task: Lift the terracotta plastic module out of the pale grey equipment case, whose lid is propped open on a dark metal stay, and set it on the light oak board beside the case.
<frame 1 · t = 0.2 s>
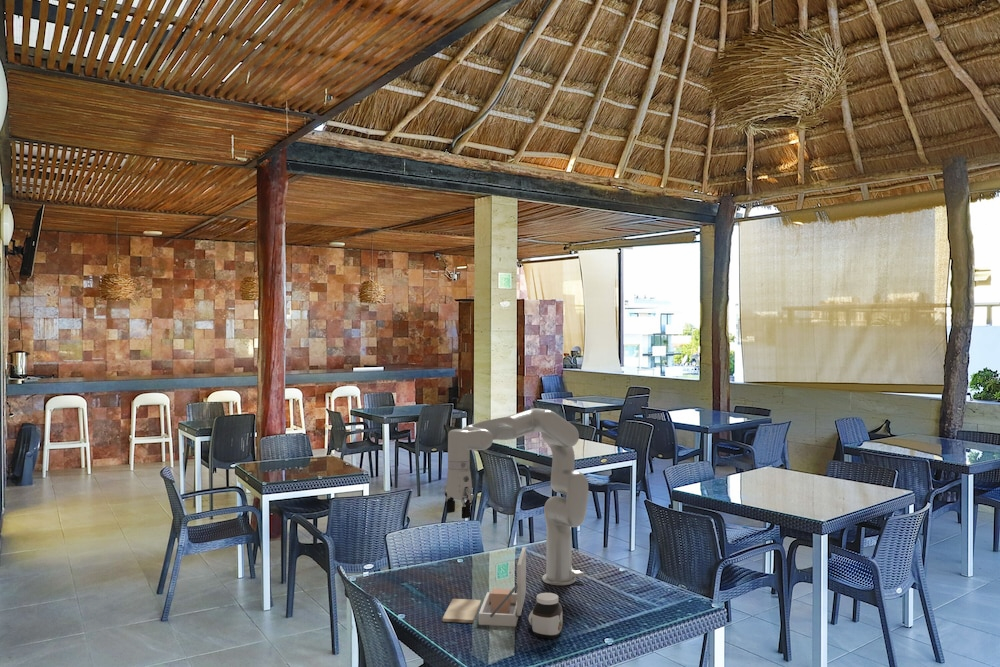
hand: (458, 515, 244), 31 cm above the table, tool pointing down, fingers open, 9 cm apart
equipment case: (500, 613, 235), on the table
module: (500, 612, 235), resting on equipment case
spread jar: (543, 632, 220), on the table
oak board: (462, 611, 236), on the table
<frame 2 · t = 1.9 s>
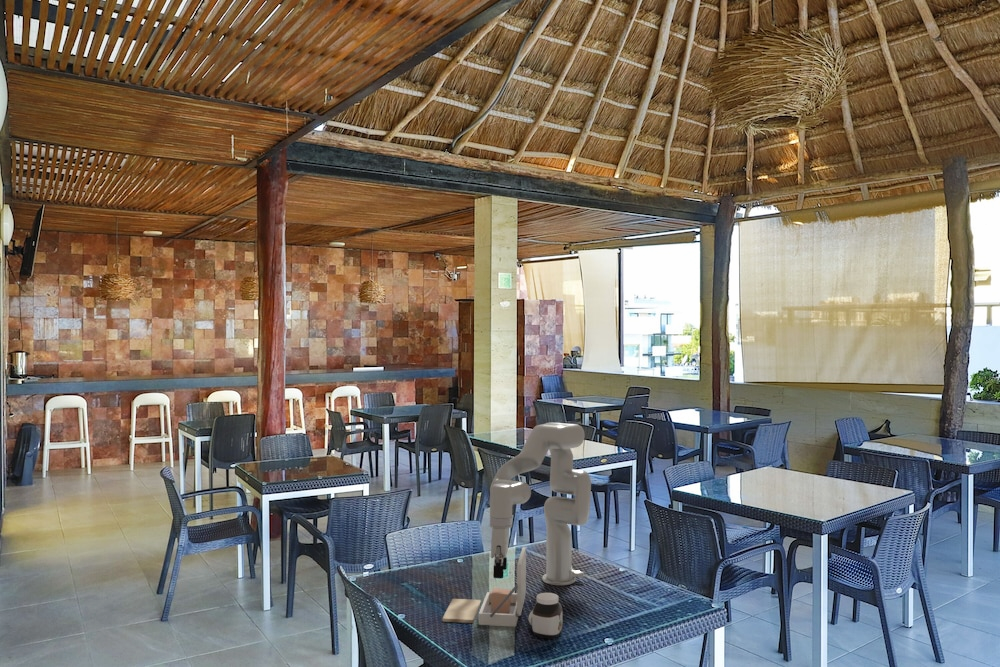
hand: (500, 573, 235), 13 cm above the table, tool pointing down, fingers open, 9 cm apart
nothing on the table moved.
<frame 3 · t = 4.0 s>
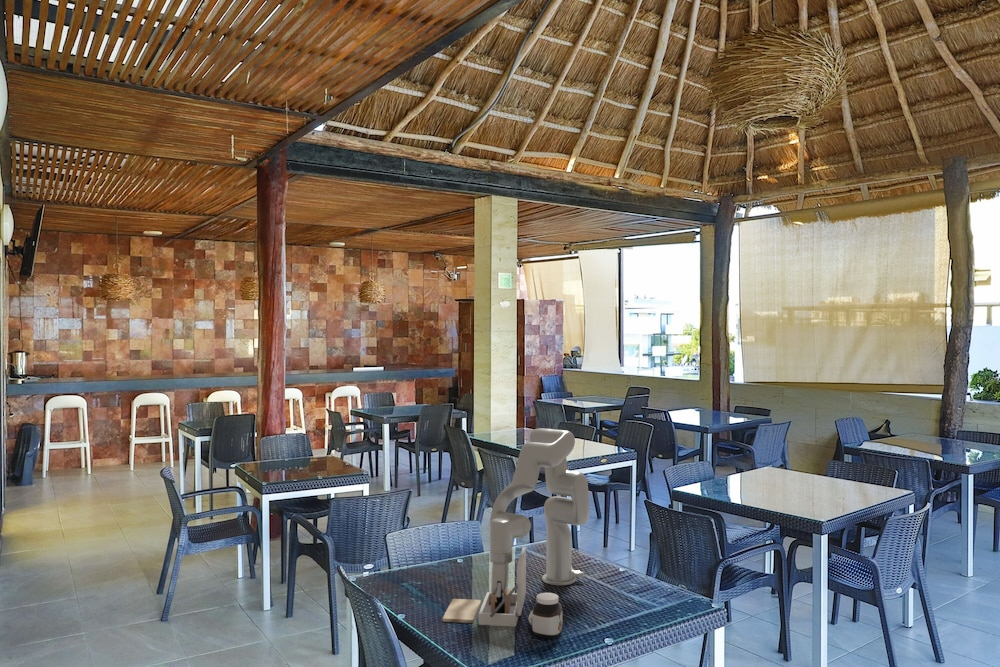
hand: (500, 610, 235), 1 cm above the table, tool pointing down, fingers closed on module, 5 cm apart
module: (500, 612, 235), resting on equipment case, touching gripper
everything else where it was.
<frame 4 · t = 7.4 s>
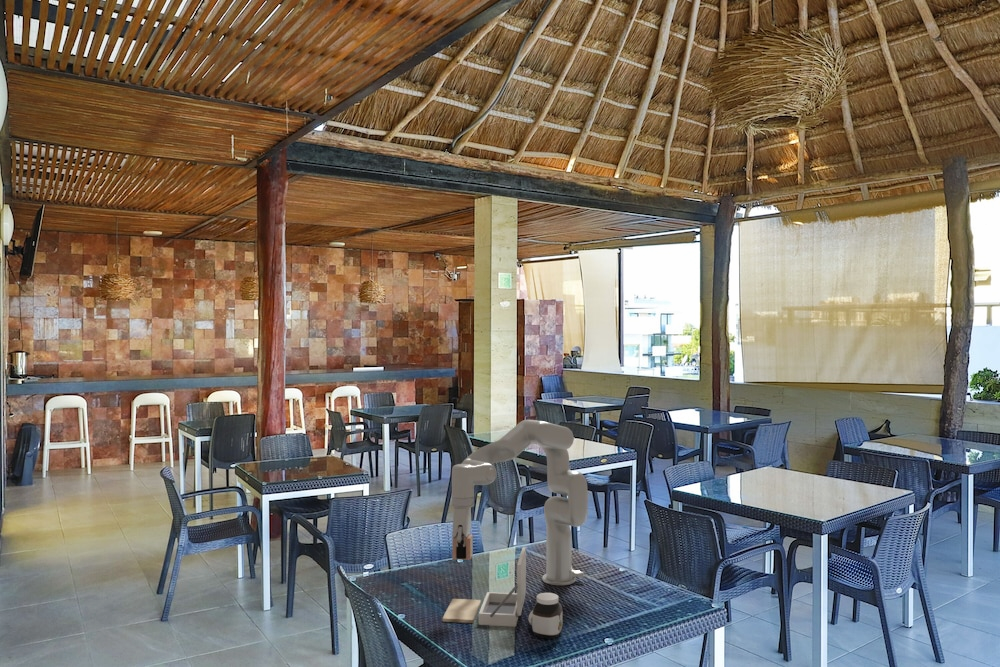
hand: (462, 555, 237), 19 cm above the table, tool pointing down, fingers closed on module, 5 cm apart
module: (462, 557, 237), point 18 cm above the table, touching gripper
everything else where it was.
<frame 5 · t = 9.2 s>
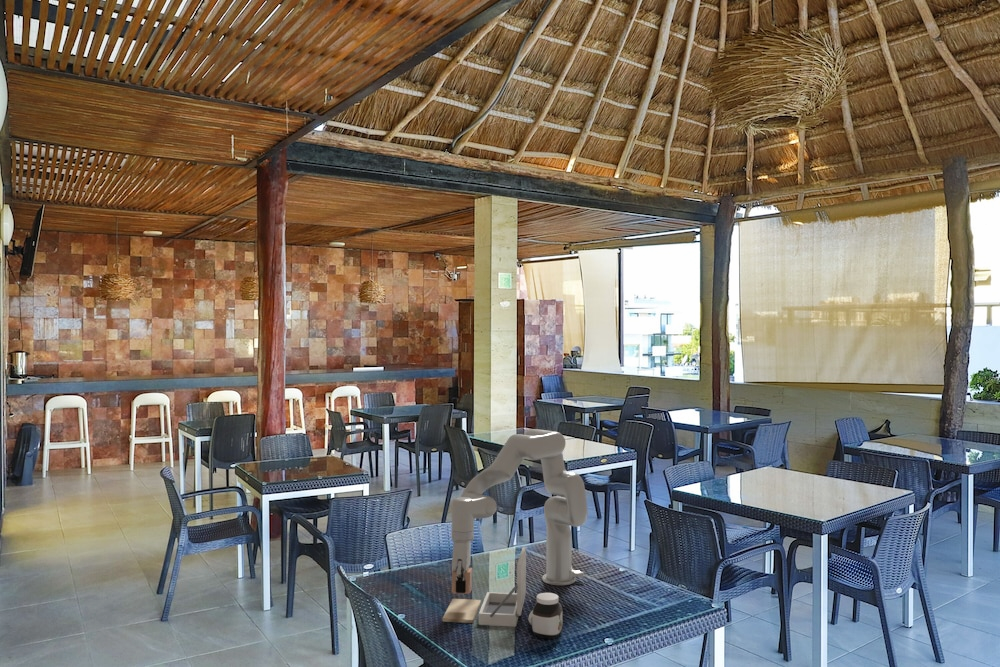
hand: (462, 589, 236), 8 cm above the table, tool pointing down, fingers closed on module, 5 cm apart
module: (462, 590, 236), point 7 cm above the table, touching gripper
everything else where it was.
when the fingers open (3 cm above the table, at t = 11.0 s): module drops 1 cm, resting on oak board.
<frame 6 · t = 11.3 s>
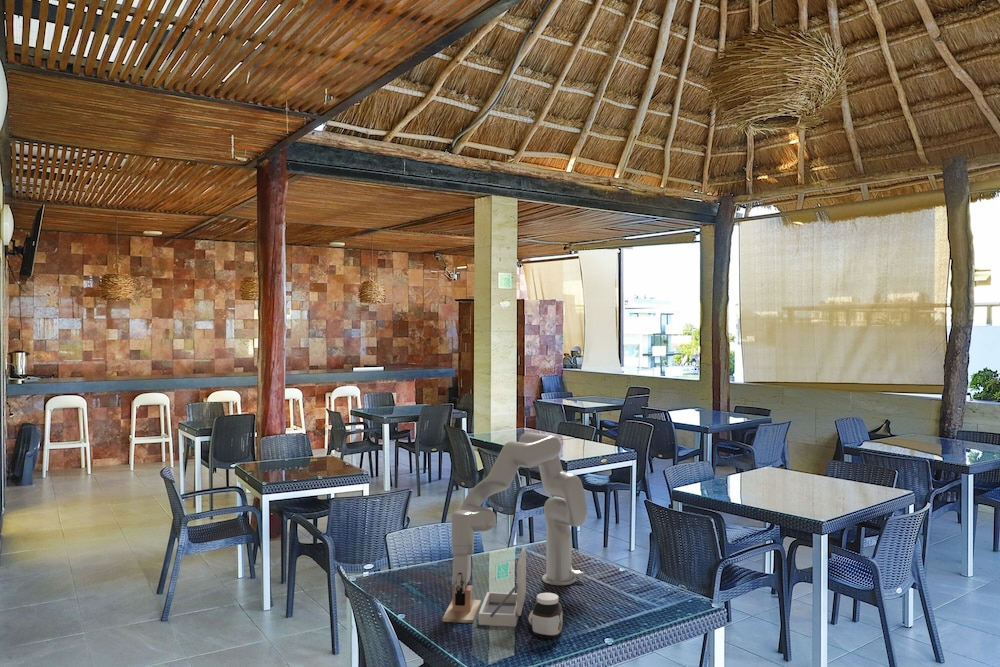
hand: (462, 600, 236), 4 cm above the table, tool pointing down, fingers open, 8 cm apart
module: (462, 608, 237), point 1 cm above the table, touching oak board
everything else where it was.
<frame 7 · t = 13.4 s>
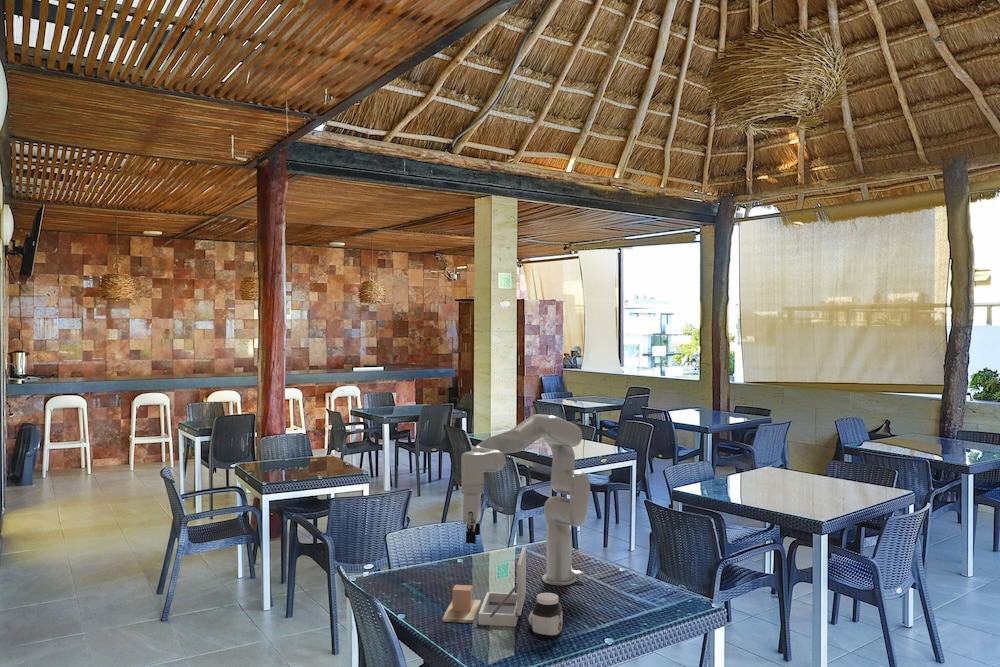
hand: (473, 538, 240), 24 cm above the table, tool pointing down, fingers open, 9 cm apart
nothing on the table moved.
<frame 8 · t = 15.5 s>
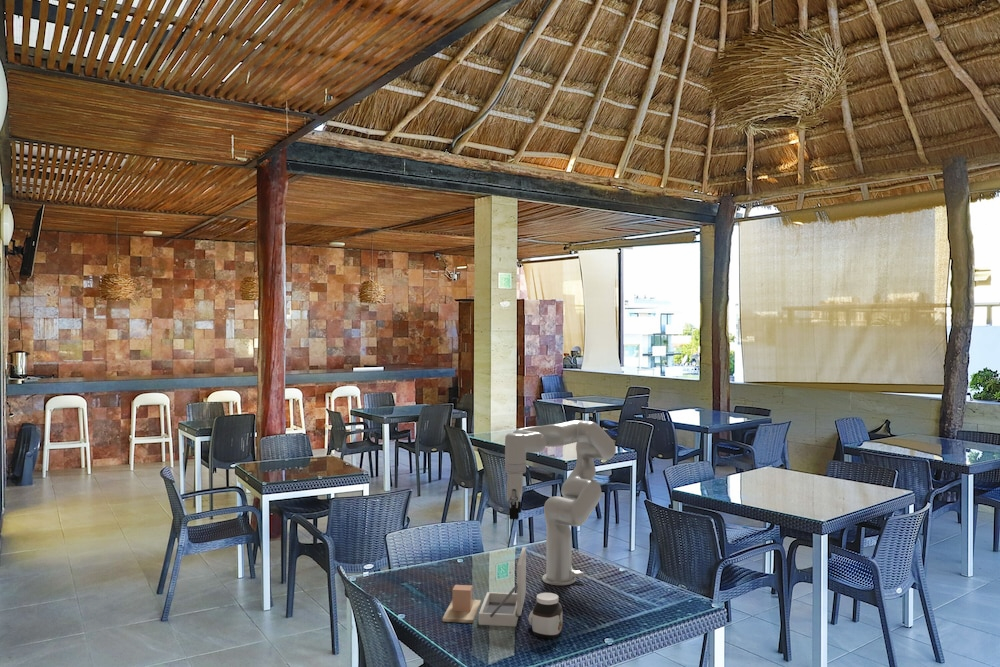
hand: (515, 515, 253), 28 cm above the table, tool pointing down, fingers open, 9 cm apart
nothing on the table moved.
at the end: module inside the target area on the oak board (0.3 cm from its centre), point 1.0 cm above the oak board's base; module tilted 0°; the gripper is holding nothing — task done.
